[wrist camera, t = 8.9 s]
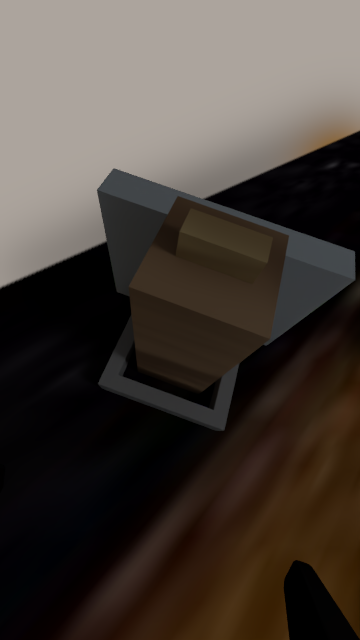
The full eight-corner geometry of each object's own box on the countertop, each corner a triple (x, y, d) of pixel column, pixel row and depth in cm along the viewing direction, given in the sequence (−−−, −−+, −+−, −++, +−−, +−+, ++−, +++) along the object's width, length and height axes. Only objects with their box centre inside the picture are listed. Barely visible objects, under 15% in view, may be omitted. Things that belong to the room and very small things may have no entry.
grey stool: (249, 442, 18) (356, 450, 9) (70, 376, 18) (-3, 318, 9) (269, 326, 22) (354, 251, 13) (126, 274, 22) (113, 168, 14)
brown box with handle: (198, 394, 19) (289, 324, 7) (137, 371, 19) (125, 263, 7) (215, 338, 21) (306, 212, 9) (160, 318, 21) (181, 167, 9)
